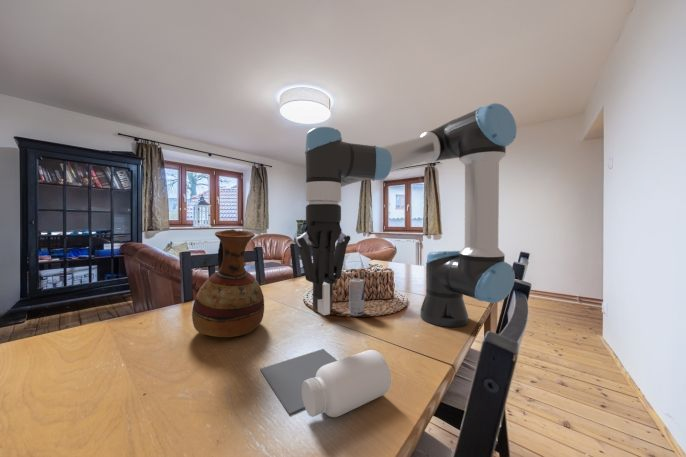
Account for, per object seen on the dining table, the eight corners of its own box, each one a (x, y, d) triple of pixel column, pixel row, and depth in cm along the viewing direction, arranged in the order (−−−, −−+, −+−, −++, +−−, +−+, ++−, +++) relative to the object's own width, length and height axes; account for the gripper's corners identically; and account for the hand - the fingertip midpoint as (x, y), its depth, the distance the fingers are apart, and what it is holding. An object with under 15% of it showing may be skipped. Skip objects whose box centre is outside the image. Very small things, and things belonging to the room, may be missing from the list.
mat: (323, 349, 66) (323, 348, 66) (362, 382, 53) (362, 381, 53) (260, 369, 57) (260, 368, 57) (289, 415, 44) (289, 413, 44)
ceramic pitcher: (202, 353, 64) (201, 231, 63) (185, 327, 79) (184, 229, 78) (275, 331, 77) (276, 230, 76) (249, 312, 92) (249, 228, 91)
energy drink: (365, 312, 94) (365, 279, 94) (361, 317, 89) (362, 282, 89) (351, 310, 96) (351, 277, 96) (346, 315, 91) (347, 280, 91)
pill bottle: (361, 367, 55) (294, 392, 47) (372, 340, 52) (303, 361, 44) (384, 403, 49) (312, 438, 41) (398, 374, 46) (323, 406, 38)
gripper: (339, 205, 63) (338, 302, 63) (287, 203, 55) (288, 313, 56) (358, 204, 56) (357, 311, 57) (303, 201, 49) (304, 325, 50)
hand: (323, 312), depth 57 cm, fingers closed
